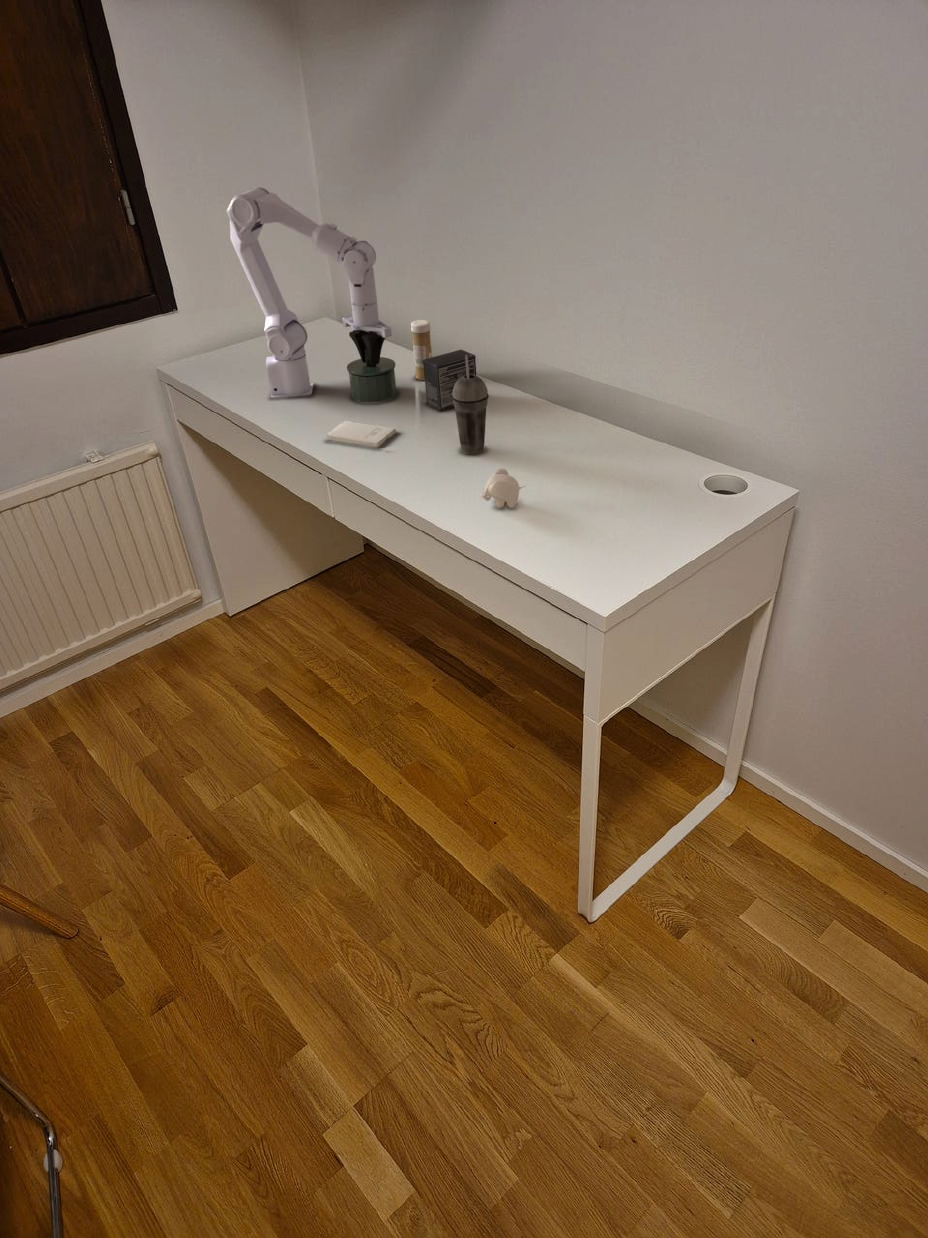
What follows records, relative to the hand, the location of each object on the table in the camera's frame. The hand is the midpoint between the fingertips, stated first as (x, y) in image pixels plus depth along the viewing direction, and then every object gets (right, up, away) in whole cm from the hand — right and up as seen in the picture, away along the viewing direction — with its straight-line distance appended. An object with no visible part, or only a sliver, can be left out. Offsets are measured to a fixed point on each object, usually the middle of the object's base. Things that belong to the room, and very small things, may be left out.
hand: (370, 362), depth 198 cm
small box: (+19, -9, -1) cm, 21 cm away
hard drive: (0, -21, -15) cm, 25 cm away
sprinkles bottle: (+12, 0, +13) cm, 18 cm away
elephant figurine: (+29, -38, -42) cm, 64 cm away
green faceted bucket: (0, -6, +5) cm, 8 cm away
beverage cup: (+23, -25, -23) cm, 41 cm away
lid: (0, -1, +1) cm, 1 cm away
